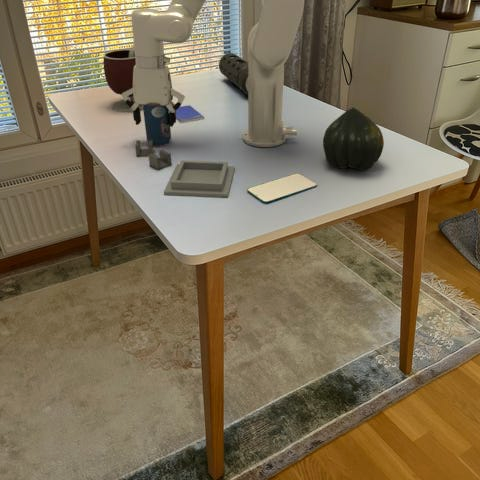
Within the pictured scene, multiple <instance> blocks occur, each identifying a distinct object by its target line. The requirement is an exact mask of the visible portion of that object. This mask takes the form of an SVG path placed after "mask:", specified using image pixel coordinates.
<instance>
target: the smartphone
mask: <svg viewBox="0 0 480 480" xmlns="http://www.w3.org/2000/svg"><path fill="white" fill-rule="evenodd" d="M317 186H318V184H317V183H316V182H315V181H313V180H311V179H309V178H307V177H306V176H305V175H303V174H301V173H293V174H290V175H286V176H284V177H280V178H277V179H273V180H271V181H267V182H264V183H260V184H258V185H254V186H251V187H247V188H246V190H247V191H246V192H247V194H249V195H250V196H251V197H253V198H254V199H256V200H257V201H259V202H260V203H261V204H263V205H268V204H272V203H275V202H277V201H281V200H284V199H286V198H289V197H292V196H295V195H298V194H300V193H302V192H305V191H309V190H312V189H314V188H317Z"/></svg>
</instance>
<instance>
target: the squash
mask: <svg viewBox="0 0 480 480" xmlns="http://www.w3.org/2000/svg"><path fill="white" fill-rule="evenodd" d="M322 139H323V140H322V147H323V153H324V155H325V158H326V159H325V160H326V161H327V162H328V164H329V165H330V166H332V167H334V168H340V169H341V168H342V169H349V167H350V168H352V169H356V170H358V171H368V170H369V169H371V168H372V167H373V165H374V164H375V163H377V162H378V161H379V159H380V157H381V156H382V153H383V150H384V145H385V141H384V137H383V132H382V131H381V128H380V127H379V126H378V125H377V124H376V122H374V121H373V120H372V119H371V118H370V117H368V116H367V115H365V113H363V112H362V111H360V110H359V109H357V108H355V107H354V106H353V107H351V108H350V109H347V110H346V111H344V112H343V113H342V114H341V115H339V116H338V117H337V118H336V119H334V120H333V121H332V122H331V123H330V124H329V125H328V126H327V127H326V130H325V132H324V135H323V138H322Z"/></svg>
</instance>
